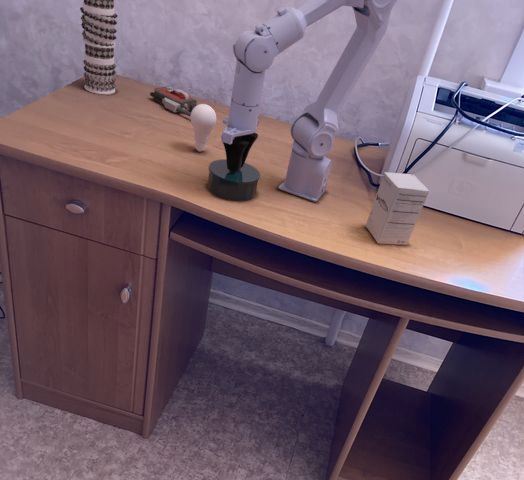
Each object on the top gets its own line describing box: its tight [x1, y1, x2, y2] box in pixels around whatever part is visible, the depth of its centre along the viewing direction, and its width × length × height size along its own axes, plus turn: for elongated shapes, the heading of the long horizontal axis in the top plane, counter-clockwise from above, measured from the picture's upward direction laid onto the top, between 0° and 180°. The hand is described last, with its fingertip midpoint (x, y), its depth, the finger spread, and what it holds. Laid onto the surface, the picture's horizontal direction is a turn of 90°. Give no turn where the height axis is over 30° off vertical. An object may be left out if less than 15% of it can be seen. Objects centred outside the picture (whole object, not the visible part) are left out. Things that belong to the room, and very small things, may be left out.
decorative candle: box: [79, 0, 118, 95], centre depth 141 cm, size 9×9×25 cm
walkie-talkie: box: [149, 86, 198, 117], centre depth 148 cm, size 9×4×20 cm
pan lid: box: [208, 155, 261, 184], centre depth 112 cm, size 11×11×5 cm
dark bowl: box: [207, 171, 259, 202], centre depth 115 cm, size 11×11×4 cm
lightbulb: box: [189, 103, 217, 153], centre depth 125 cm, size 6×6×11 cm
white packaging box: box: [365, 171, 430, 246], centre depth 109 cm, size 7×7×13 cm
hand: (235, 168), depth 113 cm, fingers closed on pan lid, 2 cm apart
